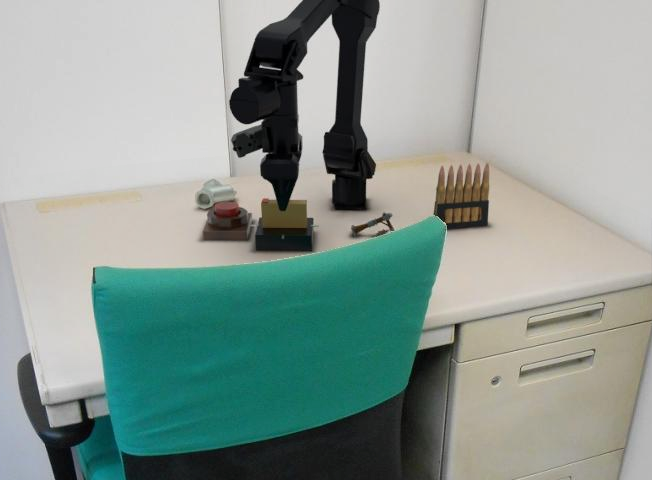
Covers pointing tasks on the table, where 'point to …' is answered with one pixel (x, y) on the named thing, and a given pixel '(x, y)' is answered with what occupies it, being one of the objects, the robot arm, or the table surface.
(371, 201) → the table surface
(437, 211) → the ammunition clip
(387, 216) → the wooden post with brackets
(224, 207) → the button
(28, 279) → the table surface
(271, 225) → the olive rectangular block
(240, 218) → the button housing
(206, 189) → the pipe fitting
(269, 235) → the dark rectangular block base
